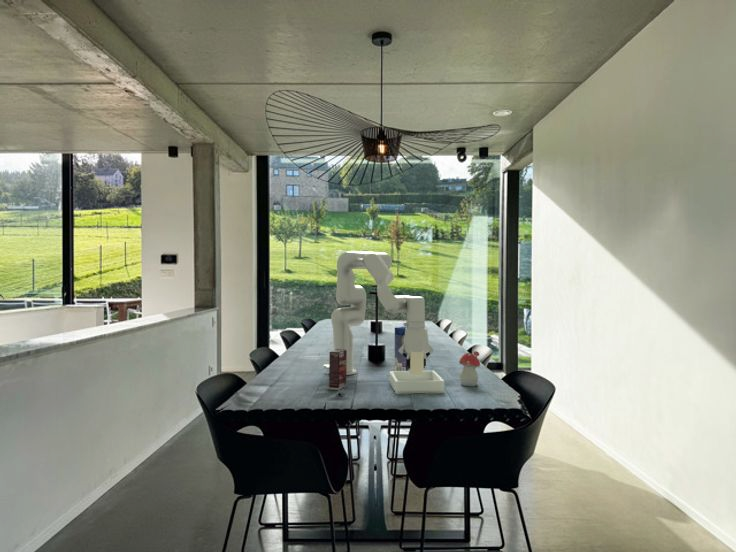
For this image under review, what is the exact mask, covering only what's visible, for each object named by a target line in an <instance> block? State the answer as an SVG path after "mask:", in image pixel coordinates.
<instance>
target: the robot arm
mask: <svg viewBox="0 0 736 552" xmlns="http://www.w3.org/2000/svg"><path fill="white" fill-rule="evenodd" d="M392 265H393V259H392V257H391V255H390V254H389V253H387V252H384V251H368V250H367V251H361V250H348V251H344V252H342V253H341V254H340V255H339V256H338V259H337V261H336V269H337V270H336V271H337V272H336V273H337V275H336V276H337V279H336V280H337V281H336V291H335V300H336V302H337V303H338V304H339V305H341V306H346V307H339V308H335V309H334V310H333V311H332V313H331V315H330V319H331V320H330V321H331V325H332V333H333V335H332V338H333V340H332V341H333V343H332V344H333V350H332V351H334V350H337V349H343V350H347V365H346V366H347V369H346V376H350V375H355V374H357V369H356V368H354V335H353V332H352V330H351V327H358V326H361V325H362V324H364V321H365V318H366V310H367V309H366V307H367V292H366V289H365V288H364V287H363V286H361V285H360V284H355V281H356V277H355V276H356V275H355V271H354V270H367V271H368V273H369V275H370V276H371V278H373V280H374V282H375V284H376V285H377V287H376V292H377V298H378V301H379V302H380V304H381V305H382V306H383V308H384V309H385V310H386V311H387V312H388V313H390V314H403V313H404V314H405V313H406V322H403V326H406V327H407V328H406V329H405V336H404V344H403V345H402V346H401V348H400V349H399V350H398V351H399V352H400V353H401V354H402V355H403V356H404V357H405V358H406V366H408V369H410V358H409V357H410V353H411V351H412V352H422V351H424V369H425V367H426V366H427V359H428V357H429V356H430V355H431V354H432V353H433V352H434V350H435V349H433V347H432V346H431V345H430V344H429V335H428V334H429V333H428V329H427V328H425V326H426V320H425V319H426V315H425V314H426V313H425V310H426V308H425V304H426V303H425V300H426V299H425V298H424V297H423V296H418V295H417V296H416V295H415V296H413V295H408V294H407V295H406V294H405V295H404V294H403V295H394V294H393V293H392V291H391V290H390V288H389V285H390V284H391V283H392V282H393V280H394V276H395V275H394V273H393V272H392V271H391V269H390V268H392ZM347 306H349V307H347ZM403 349H404V350H405V351H406V352H407V354H405V353H404V352H403ZM323 367H324V368H323V370H329V364H323Z"/></svg>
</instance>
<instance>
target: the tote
mask: <svg viewBox="0 0 736 552" xmlns="http://www.w3.org/2000/svg"><path fill="white" fill-rule="evenodd" d="M389 384H390V386H391V388H392V389H394V390H393V392H394V391H395V392H394V394H395V393H396V394H395V395H411V393H412V395H413V393H426V394H445V379H443V378H442V377H441V376H440V375H439V374H438V373H437V372H436V371H435V370H424V375H410V373H409V371H395V370H391V371H389Z"/></svg>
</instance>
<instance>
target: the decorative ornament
mask: <svg viewBox="0 0 736 552" xmlns="http://www.w3.org/2000/svg"><path fill="white" fill-rule="evenodd" d="M479 356H480V352H478V351H477V350H475V351H473V353H471V352H467V353H464V354H462V356H461V357H460V359H459V361H458V363H459V365H461V366H463V369H462V370H461V372H460V374H459V379H460V380H459V381H460V383H461V385H462V386H463V387H476V386H478V380H479V375H478V372H477V369H476V368H480V366H481V362H480V359H479V358H478V357H479Z"/></svg>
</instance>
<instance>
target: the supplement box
mask: <svg viewBox="0 0 736 552" xmlns="http://www.w3.org/2000/svg"><path fill="white" fill-rule="evenodd" d="M328 355H329V362H328V363H329V364H328V365H329V369H328V370H329V371H328V372H329V374H328V377H329V378H328V380H329V382H328V383H329V384H328V390H331V391H332V390H333V391H340V390H341V389H344V388H345V386H346V387H347V375H346V369H347V366H346V365H347V350H343V349H337V350H334V351H333V350H331V351H329V354H328ZM343 387H344V388H343Z"/></svg>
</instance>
